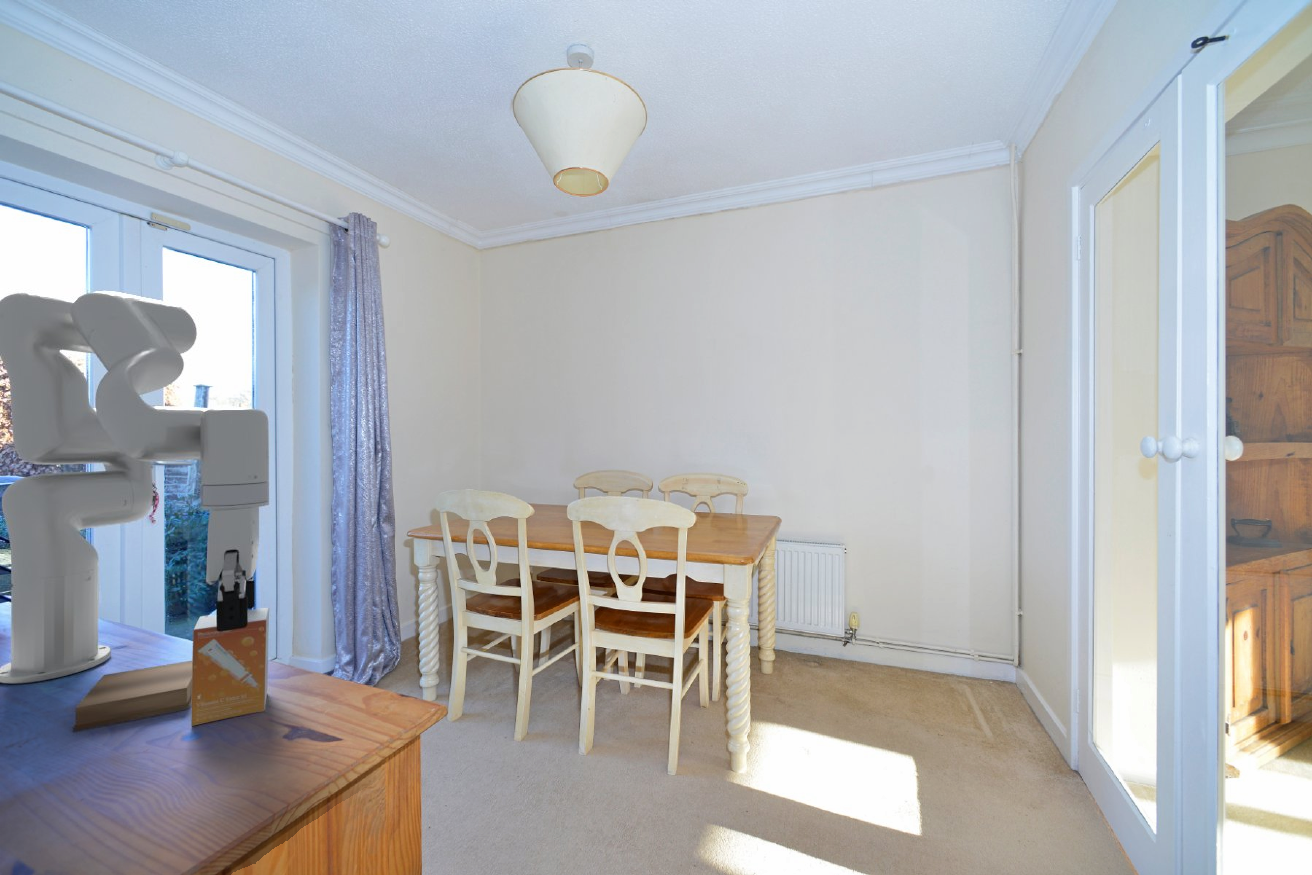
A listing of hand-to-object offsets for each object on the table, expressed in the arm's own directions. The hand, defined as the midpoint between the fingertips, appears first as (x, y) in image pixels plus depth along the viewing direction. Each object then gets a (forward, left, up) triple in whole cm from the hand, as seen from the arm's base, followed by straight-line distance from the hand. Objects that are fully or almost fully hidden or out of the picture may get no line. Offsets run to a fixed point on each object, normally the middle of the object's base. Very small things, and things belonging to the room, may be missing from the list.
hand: (236, 618), depth 75 cm
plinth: (-9, -11, -13) cm, 20 cm away
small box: (-1, -1, -13) cm, 13 cm away
